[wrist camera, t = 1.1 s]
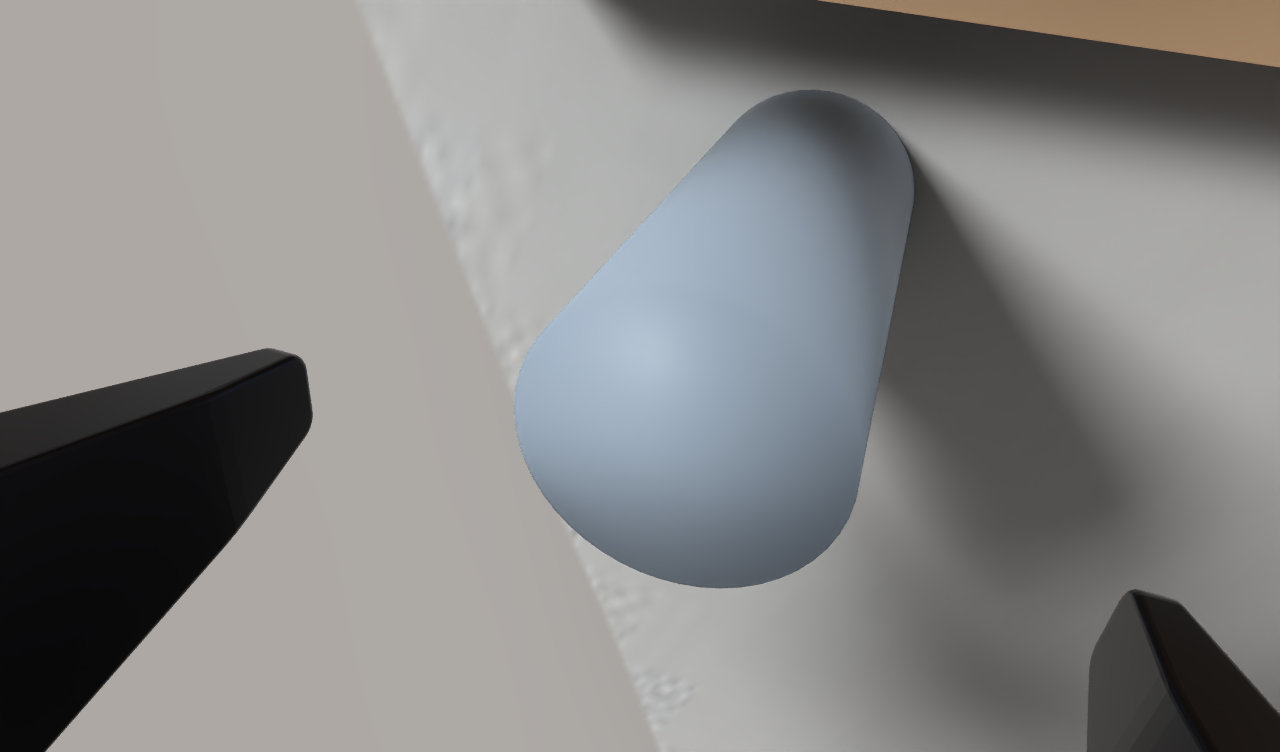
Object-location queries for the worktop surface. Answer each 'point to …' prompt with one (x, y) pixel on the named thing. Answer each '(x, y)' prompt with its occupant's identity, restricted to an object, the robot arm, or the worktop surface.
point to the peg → (729, 353)
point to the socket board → (1125, 22)
